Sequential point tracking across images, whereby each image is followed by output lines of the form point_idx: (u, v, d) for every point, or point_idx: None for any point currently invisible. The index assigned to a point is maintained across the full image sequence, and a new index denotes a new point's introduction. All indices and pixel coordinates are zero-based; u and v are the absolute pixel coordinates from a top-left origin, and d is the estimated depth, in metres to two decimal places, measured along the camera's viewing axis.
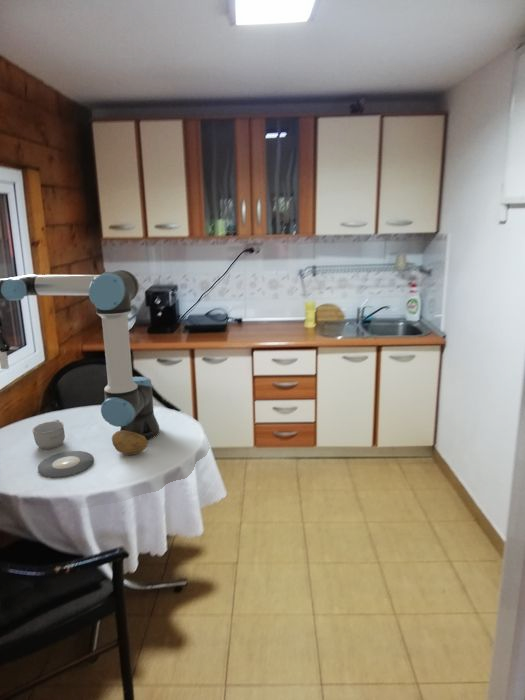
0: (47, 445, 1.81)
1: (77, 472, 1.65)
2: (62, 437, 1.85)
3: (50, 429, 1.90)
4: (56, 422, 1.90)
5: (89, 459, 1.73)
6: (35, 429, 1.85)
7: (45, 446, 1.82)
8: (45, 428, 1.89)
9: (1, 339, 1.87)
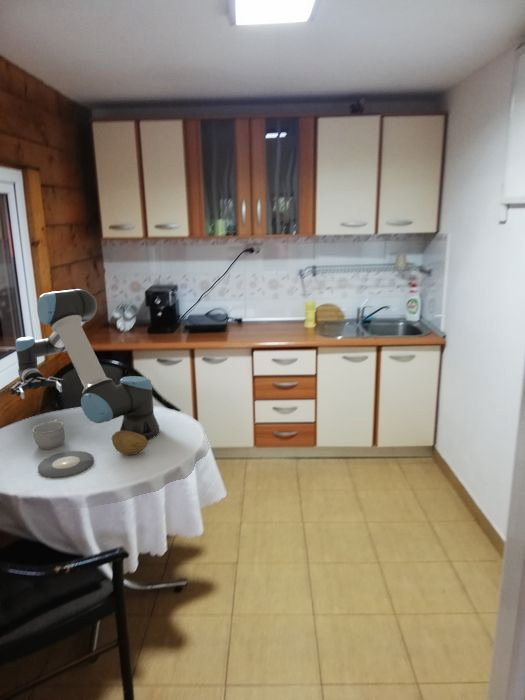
0: (47, 445, 1.81)
1: (77, 472, 1.65)
2: (62, 437, 1.85)
3: (50, 429, 1.90)
4: (56, 422, 1.90)
5: (89, 459, 1.73)
6: (35, 429, 1.85)
7: (45, 446, 1.82)
8: (45, 428, 1.89)
9: None
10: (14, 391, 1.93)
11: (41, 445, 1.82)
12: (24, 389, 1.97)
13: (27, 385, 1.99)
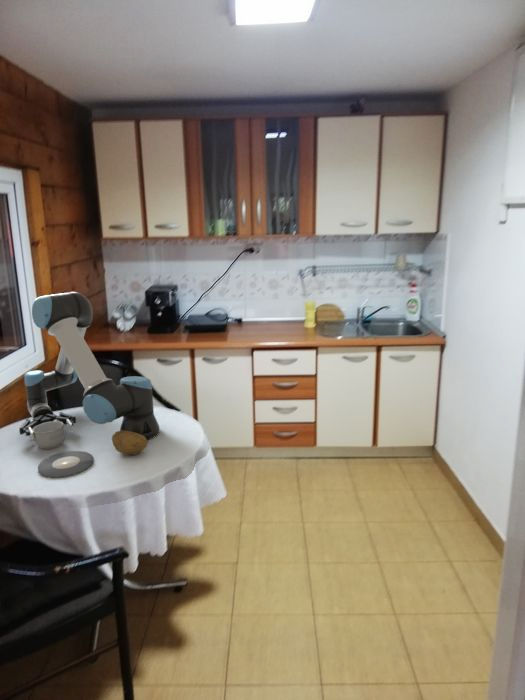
0: (47, 445, 1.81)
1: (77, 472, 1.65)
2: (62, 437, 1.85)
3: (50, 429, 1.90)
4: (56, 422, 1.90)
5: (89, 459, 1.73)
6: (35, 429, 1.85)
7: (45, 446, 1.82)
8: (45, 428, 1.89)
9: None
10: (23, 431, 1.85)
11: (41, 445, 1.82)
12: None
13: (37, 423, 1.92)
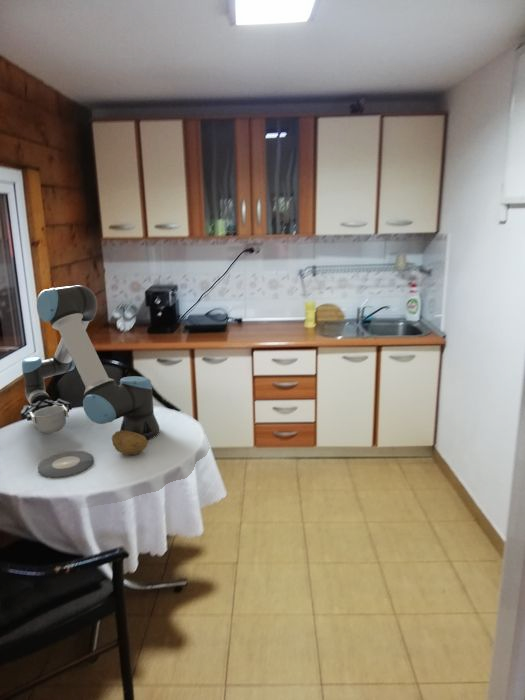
0: (50, 429, 1.80)
1: (77, 472, 1.65)
2: (64, 421, 1.84)
3: (49, 414, 1.89)
4: (56, 407, 1.89)
5: (89, 459, 1.73)
6: (35, 414, 1.84)
7: (48, 430, 1.80)
8: (45, 413, 1.88)
9: (62, 404, 1.95)
10: (24, 416, 1.84)
11: (43, 429, 1.80)
12: None
13: (36, 409, 1.90)
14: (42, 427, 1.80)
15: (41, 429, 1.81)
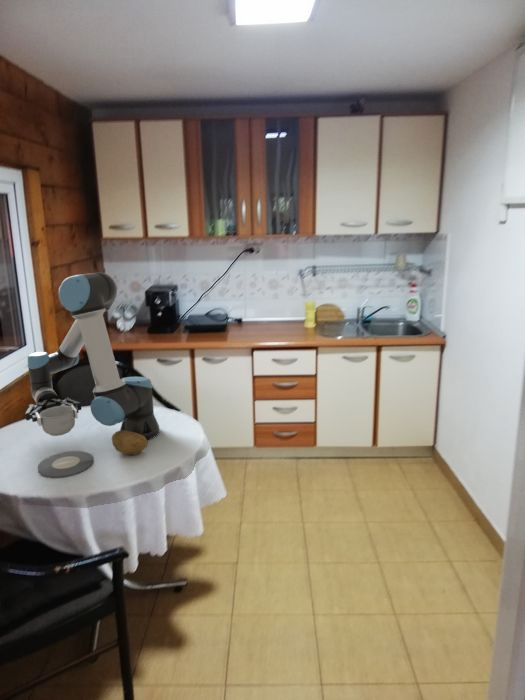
0: (57, 431, 1.64)
1: (77, 472, 1.65)
2: (73, 422, 1.68)
3: (57, 415, 1.72)
4: (64, 406, 1.72)
5: (89, 459, 1.73)
6: (42, 414, 1.67)
7: (55, 432, 1.64)
8: (52, 413, 1.71)
9: None
10: (30, 416, 1.67)
11: (50, 431, 1.63)
12: None
13: (42, 408, 1.73)
14: (49, 429, 1.63)
15: (48, 431, 1.64)
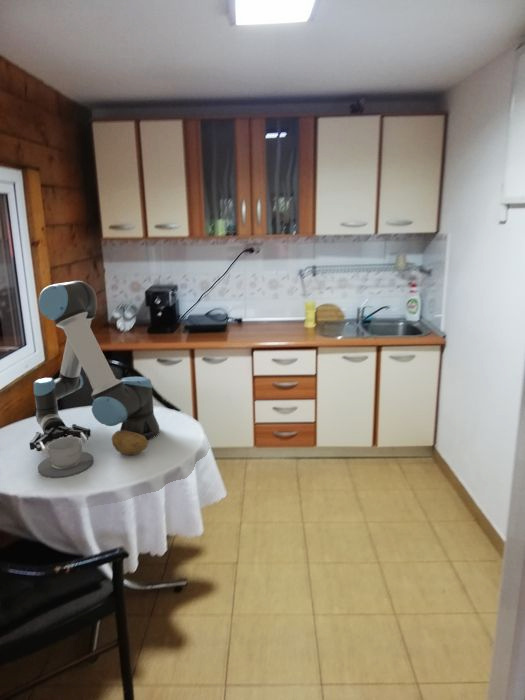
0: (65, 464, 1.64)
1: (77, 472, 1.65)
2: (80, 454, 1.68)
3: (64, 446, 1.73)
4: (71, 438, 1.72)
5: (89, 459, 1.73)
6: (49, 447, 1.68)
7: (63, 465, 1.64)
8: (59, 444, 1.72)
9: None
10: (34, 446, 1.68)
11: (58, 464, 1.64)
12: (45, 442, 1.72)
13: (48, 437, 1.74)
14: (57, 462, 1.64)
15: (56, 464, 1.64)
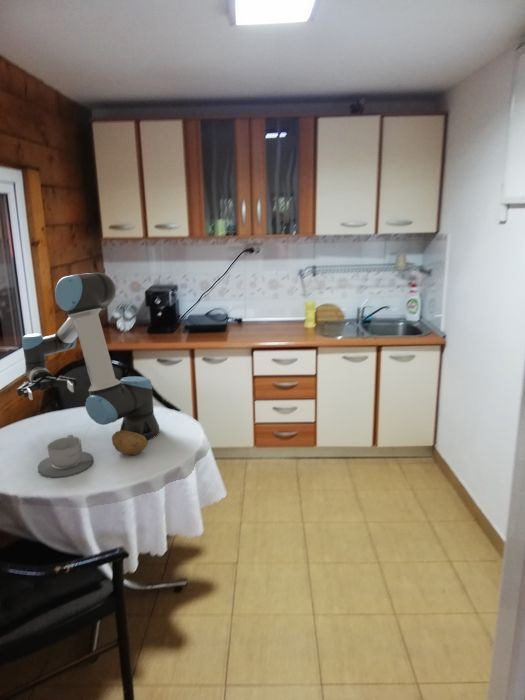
0: (65, 464, 1.64)
1: (77, 472, 1.65)
2: (80, 454, 1.68)
3: (64, 446, 1.73)
4: (71, 438, 1.72)
5: (89, 459, 1.73)
6: (49, 447, 1.68)
7: (63, 465, 1.64)
8: (59, 444, 1.72)
9: None
10: (21, 392, 1.75)
11: (58, 464, 1.64)
12: (32, 390, 1.79)
13: (35, 385, 1.81)
14: (57, 462, 1.64)
15: (56, 464, 1.64)
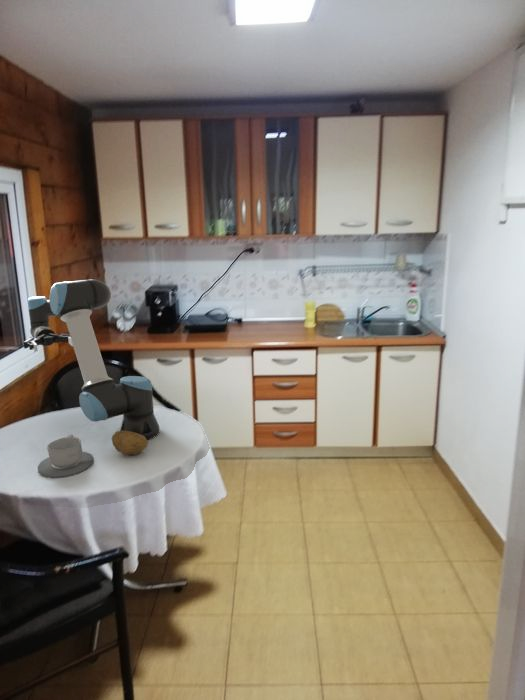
0: (65, 464, 1.64)
1: (77, 472, 1.65)
2: (80, 454, 1.68)
3: (64, 446, 1.73)
4: (71, 438, 1.72)
5: (89, 459, 1.73)
6: (49, 447, 1.68)
7: (63, 465, 1.64)
8: (59, 444, 1.72)
9: None
10: (27, 345, 1.95)
11: (58, 464, 1.64)
12: (37, 344, 1.99)
13: (40, 340, 2.01)
14: (57, 462, 1.64)
15: (56, 464, 1.64)
